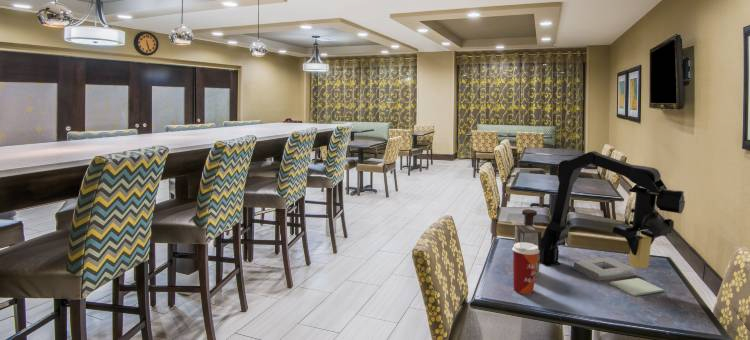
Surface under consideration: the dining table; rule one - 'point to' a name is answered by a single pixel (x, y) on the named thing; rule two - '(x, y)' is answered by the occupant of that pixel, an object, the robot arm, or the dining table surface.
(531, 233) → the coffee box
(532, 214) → the bolt
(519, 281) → the coffee cup
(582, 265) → the square hole plate
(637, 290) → the pad
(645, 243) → the peg
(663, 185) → the robot arm
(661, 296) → the dining table surface
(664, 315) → the dining table surface
